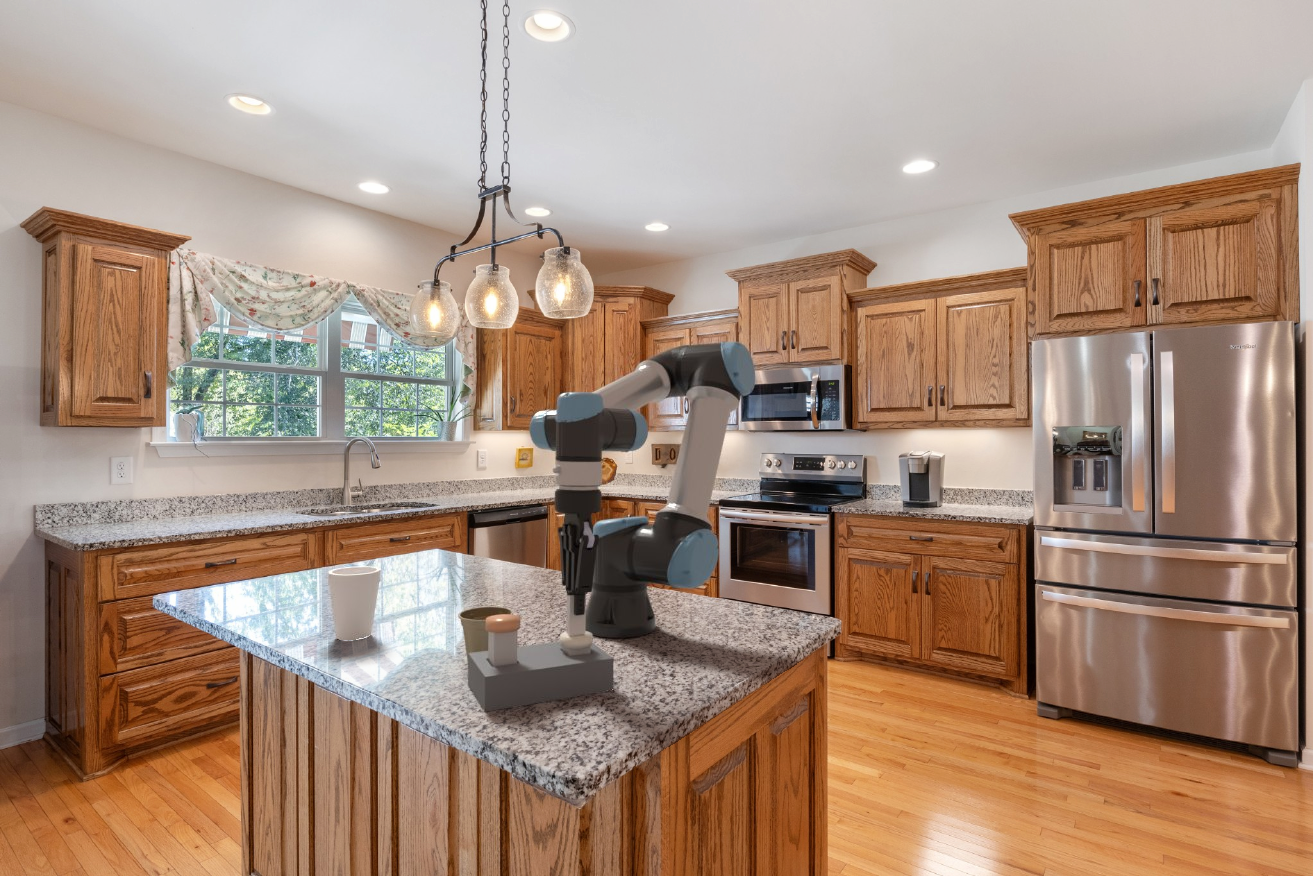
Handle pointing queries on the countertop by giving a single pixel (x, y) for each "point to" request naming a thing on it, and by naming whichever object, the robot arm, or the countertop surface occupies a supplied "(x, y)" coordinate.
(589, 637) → the cream plunger
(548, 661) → the block
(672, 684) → the countertop surface
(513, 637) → the terracotta plunger
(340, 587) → the foam cup
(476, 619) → the flower pot
